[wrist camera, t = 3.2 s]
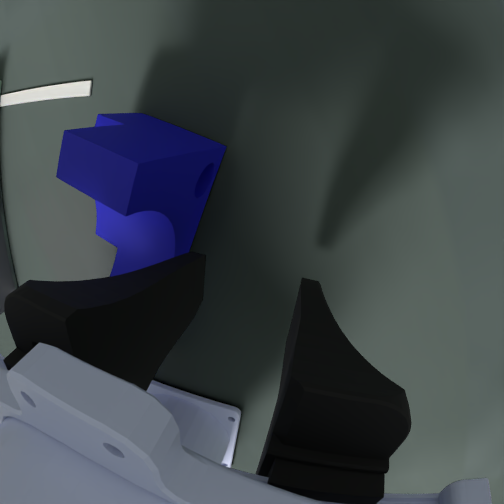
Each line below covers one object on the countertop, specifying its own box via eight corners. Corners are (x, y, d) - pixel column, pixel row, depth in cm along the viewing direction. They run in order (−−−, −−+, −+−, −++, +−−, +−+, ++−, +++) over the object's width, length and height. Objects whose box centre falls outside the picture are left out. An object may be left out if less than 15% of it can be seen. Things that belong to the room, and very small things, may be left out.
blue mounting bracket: (141, 112, 13) (38, 119, 8) (226, 146, 13) (138, 163, 7) (101, 307, 19) (36, 360, 13) (160, 345, 18) (101, 413, 13)
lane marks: (103, 336, 20) (102, 337, 19) (22, 298, 21) (21, 299, 21) (92, 80, 13) (90, 80, 13) (2, 95, 14) (0, 95, 14)
